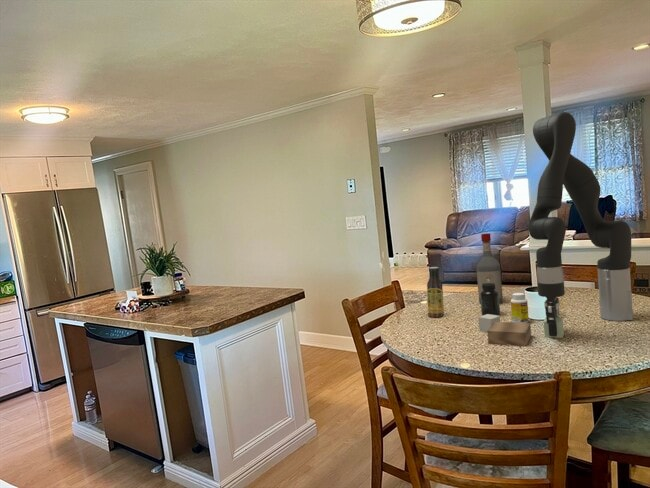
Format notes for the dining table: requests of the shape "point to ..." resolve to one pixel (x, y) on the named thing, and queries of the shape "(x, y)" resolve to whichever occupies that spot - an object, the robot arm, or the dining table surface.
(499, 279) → the liquor
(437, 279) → the sauce bottle
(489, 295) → the supplement bottle
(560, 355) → the dining table surface
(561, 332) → the sage cube
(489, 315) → the grey cube
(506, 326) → the walnut block
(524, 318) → the supplement bottle
